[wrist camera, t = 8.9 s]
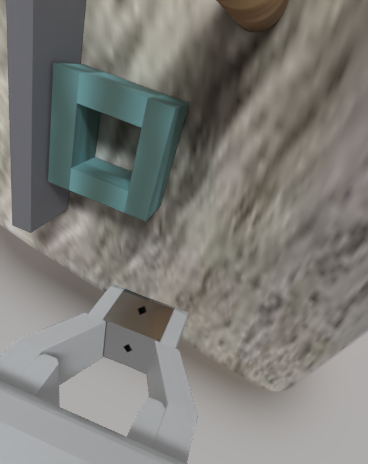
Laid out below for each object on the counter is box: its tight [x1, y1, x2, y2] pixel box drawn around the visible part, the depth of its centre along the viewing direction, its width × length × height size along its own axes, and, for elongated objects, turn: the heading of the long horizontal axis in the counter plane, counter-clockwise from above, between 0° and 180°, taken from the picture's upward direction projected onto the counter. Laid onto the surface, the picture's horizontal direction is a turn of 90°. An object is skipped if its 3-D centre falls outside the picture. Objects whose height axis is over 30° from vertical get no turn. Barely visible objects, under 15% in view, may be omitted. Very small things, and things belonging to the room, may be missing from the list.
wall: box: [6, 0, 86, 233], centre depth 26 cm, size 2×20×6 cm, turn 163°
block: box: [48, 63, 189, 221], centre depth 26 cm, size 10×10×4 cm
